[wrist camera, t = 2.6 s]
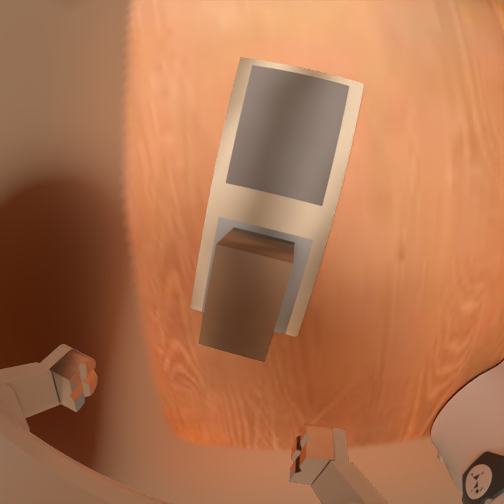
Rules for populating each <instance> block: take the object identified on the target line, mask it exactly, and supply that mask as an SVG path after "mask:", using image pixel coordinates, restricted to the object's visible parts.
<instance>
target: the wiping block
mask: <svg viewBox="0 0 504 504" xmlns="http://www.w3.org/2000/svg"><path fill="white" fill-rule="evenodd" d="M294 244H295V242H291V241H287V240H283V239H279V238H275V237H272V236H268V235H264V234H259V233H255V232H251V231H247V230H243V229H239V228H235V227H234V228H233V229H232V230H230V231H229V232H228V233H227V234H226V235H225V236H224V237H223V238H222V239H221V240H220V241H219V242H218V243H217V244H216V247H215V252H214V258H213V263H212V269H211V274H210V280H209V285H208V291H207V297H206V303H205V309H204V315H203V321H202V327H201V333H200V339H199V344H202V345H205V346H209V347H212V348H215V349H219V350H222V351H226V352H229V353H233V354H237V355H240V356H244V357H248V358H252V359H255V360H259V361H263V362H265V359H266V355H267V352H268V349H269V346H270V342H271V339H272V336H273V332H274V329H275V326H276V322H277V319H278V316H279V312H280V309H281V305H282V302H283V298H284V295H285V291H286V288H287V284H288V281H289V277H290V273H291V270H292V266H293V259H294Z"/></svg>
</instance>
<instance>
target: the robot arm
mask: <svg viewBox="0 0 504 504" xmlns="http://www.w3.org/2000/svg"><path fill="white" fill-rule="evenodd" d="M95 367H96V365H95V360H94V359H92V358H90V357H88V356H86V355H84V354H82V353H80V352H78V351H76V350H74V349H72V348H70V347H69V346H67V345H65V344H63V345H60V346H59V347H58V348H57V349H56V350H55V351H53V352H52V353H51V354H50V355H49V356H48V357H46V358H45V359H44V360H43V361H42V362H41V363H40V364H39V363H32V364H26V365H22V366H17V367H12V368H6V369H1V370H0V504H172V503H169V502H166V501H163V500H160V499H157V498H155V497H152V496H149V495H147V494H144V493H142V492H139V491H136V490H134V489H132V488H129V487H127V486H125V485H122V484H120V483H118V482H116V481H114V480H112V479H109V478H107V477H105V476H103V475H101V474H99V473H97V472H95V471H93V470H91V469H89V468H87V467H85V466H83V465H82V464H80V463H78V462H76V461H75V460H73V459H71V458H69V457H68V456H66V455H64V454H63V453H61V452H59V451H58V450H56V449H54V448H53V447H51V446H50V445H48V444H46V443H45V442H44V441H42V440H40V439H39V438H38V437H36V436H35V435H33V434H32V433H30V432H29V426H28V424H27V422H26V420H25V418H26V417H29V416H31V415H34V414H37V413H39V412H42V411H45V410H47V409H49V408H52V407H55V406H57V405H59V404H62V405H64V406H66V407H68V408H70V409H72V410H74V411H75V412H77V411H78V410H79V409H80V407H81V406H82V405H83V404H84V403H85V397H86V396H90V395H91V394H92V393H93V391H94V390H95V387H96V385H97V375H96V373H95V371H94V370H93V369H94V368H95ZM431 440H432V442H433V444H434V445H435V446H436V448H437V449H438V458H439V460H440V462H441V463H445V465H446V466H447V468H448V471H449V473H450V475H451V477H452V479H453V481H454V483H455V485H456V487H457V490H458V492H459V493H460V494H462V495H463V497H462V502H463V504H504V360H503V361H502V362H501V363H500V364H499V365H498V366H496V367H494V368H493V369H491V370H489V371H487V372H485V373H483V374H482V375H480V376H478V377H477V378H475V379H474V380H473V381H471V382H470V383H468V384H467V385H466V386H465V387H463V388H462V389H461V390H460V391H459V392H458V393H457V394H456V395H455V396H454V397H453V398H452V399H451V400H450V401H449V402H448V403H447V404H446V405H445V407H444V408H443V409H442V410H441V412H440V413H439V415H438V416H437V418H436V420H435V422H434V424H433V426H432V429H431ZM291 459H292V461H293V462H294V463H293V464H292V466H291V468H290V480H289V481H290V482H294V483H301V484H308V485H311V487H312V488H313V490H314V492H315V493H316V495H317V496H318V498H319V500H320V502H321V503H322V504H388V502H387V500H386V499H385V498H384V497H383V496H382V495H381V494H380V493H379V492H378V491H377V489H376V488H375V487H374V486H373V485H372V484H371V483H370V482H369V480H368V479H367V478H366V477H365V476H364V475H363V474H362V473H361V472H360V470H359V469H358V468H357V467H356V466H355V465H354V463H353V462H349V457H348V448H347V440H346V431H345V430H344V429H342V428H333V427H326V426H319V425H312V424H304V425H303V427H302V428H301V435H300V436H297V438H296V440H295V442H294V445H293V448H292V453H291Z"/></svg>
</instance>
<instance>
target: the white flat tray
mask: <svg viewBox="0 0 504 504" xmlns="http://www.w3.org/2000/svg"><path fill="white" fill-rule="evenodd" d="M363 87H364V84H363V83H359V82H356V81H353V80H349V79H346V78H342V77H338V76H334V75H331V74H327V73H323V72H318V71H314V70H310V69H305V68H301V67H296V66H291V65H285V64H280V63H274V62H268V61H262V60H255V59H248V58H240V61H239V65H238V69H237V73H236V77H235V81H234V85H233V89H232V93H231V97H230V102H229V106H228V110H227V114H226V119H225V123H224V128H223V132H222V137H221V141H220V146H219V151H218V155H217V160H216V165H215V170H214V175H213V180H212V185H211V190H210V195H209V200H208V205H207V211H206V216H205V222H204V227H203V233H202V239H201V244H200V250H199V256H198V262H197V268H196V275H195V281H194V287H193V294H192V301H191V307H190V309H194V310H197V311H200V312H204V309H205V303H206V297H207V291H208V285H209V280H210V274H211V269H212V263H213V258H214V252H215V247H216V244H217V243H218V242H219V241H220V240H221V239H222V238H223V237H224V236H225V235H226V234H227V233H228V232H229V231H230V230H232V229H233V228H234V227H235V228H239V229H243V230H247V231H251V232H255V233H259V234H264V235H268V236H272V237H275V238H279V239H283V240H287V241H291V242H295V244H294V259H293V266H292V270H291V273H290V277H289V281H288V284H287V288H286V291H285V295H284V298H283V302H282V305H281V309H280V312H279V316H278V319H277V322H276V326H275V329H274V332H278V333H282V334H286V335H290V336H294V337H297V336H298V333H299V330H300V327H301V324H302V321H303V318H304V315H305V312H306V309H307V306H308V303H309V300H310V297H311V294H312V290H313V287H314V284H315V281H316V277H317V274H318V271H319V268H320V264H321V261H322V257H323V254H324V251H325V247H326V244H327V240H328V237H329V233H330V229H331V226H332V222H333V218H334V215H335V211H336V207H337V203H338V199H339V196H340V192H341V188H342V184H343V180H344V176H345V171H346V167H347V163H348V159H349V154H350V150H351V146H352V141H353V137H354V132H355V127H356V123H357V118H358V113H359V108H360V103H361V98H362V92H363Z"/></svg>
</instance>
